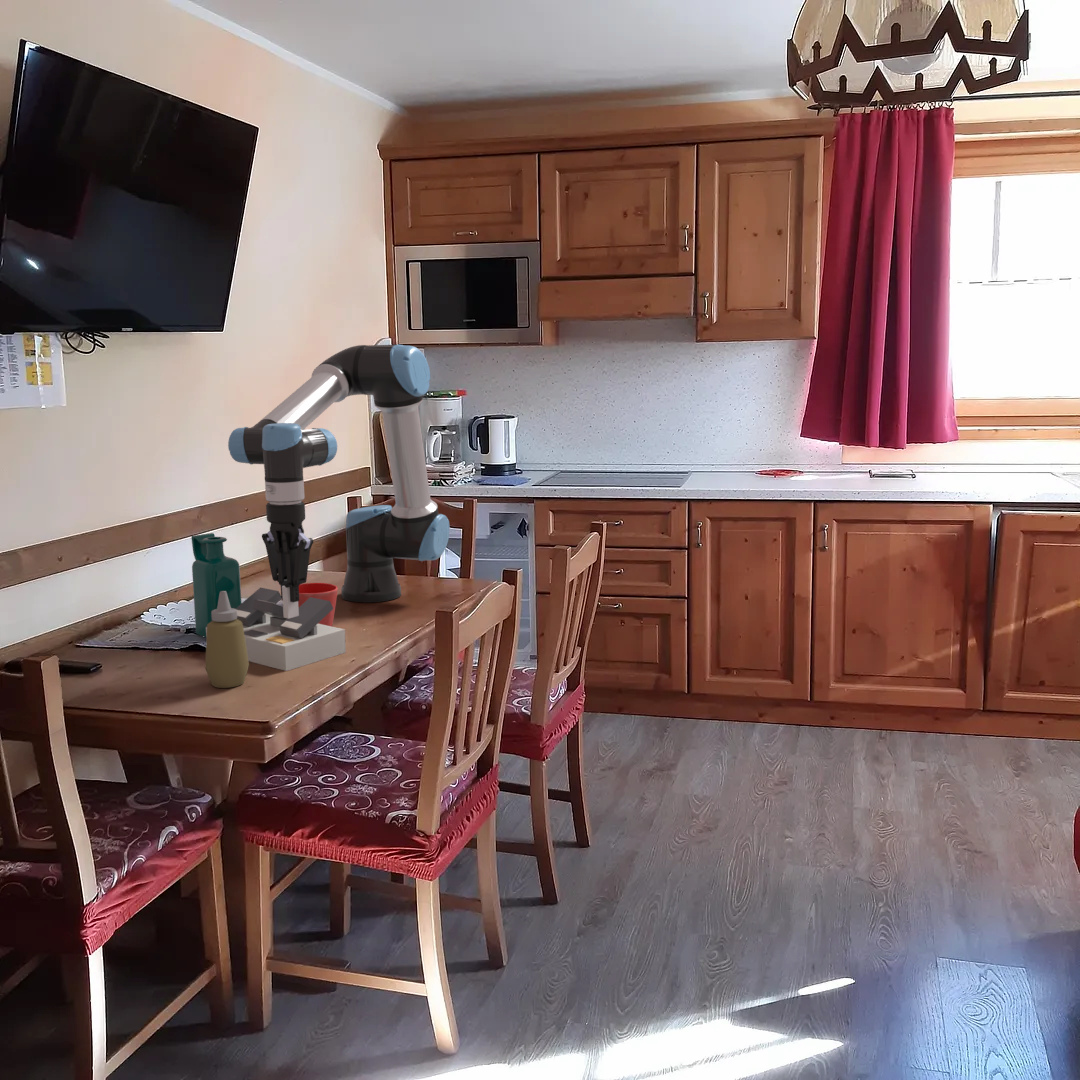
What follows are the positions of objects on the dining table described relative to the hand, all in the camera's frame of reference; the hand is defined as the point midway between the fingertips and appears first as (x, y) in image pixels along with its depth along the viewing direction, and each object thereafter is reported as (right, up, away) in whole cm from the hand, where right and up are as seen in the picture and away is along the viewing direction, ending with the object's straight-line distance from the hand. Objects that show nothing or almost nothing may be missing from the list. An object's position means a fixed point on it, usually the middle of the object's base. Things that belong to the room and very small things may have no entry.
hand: (291, 616), depth 215 cm
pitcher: (-22, -6, +22) cm, 32 cm away
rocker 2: (-4, 0, +8) cm, 9 cm away
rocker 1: (-11, +1, +12) cm, 16 cm away
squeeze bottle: (-9, -12, -14) cm, 20 cm away
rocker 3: (+2, -1, +3) cm, 4 cm away
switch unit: (-5, -8, +8) cm, 12 cm away
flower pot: (-1, -5, +26) cm, 26 cm away
